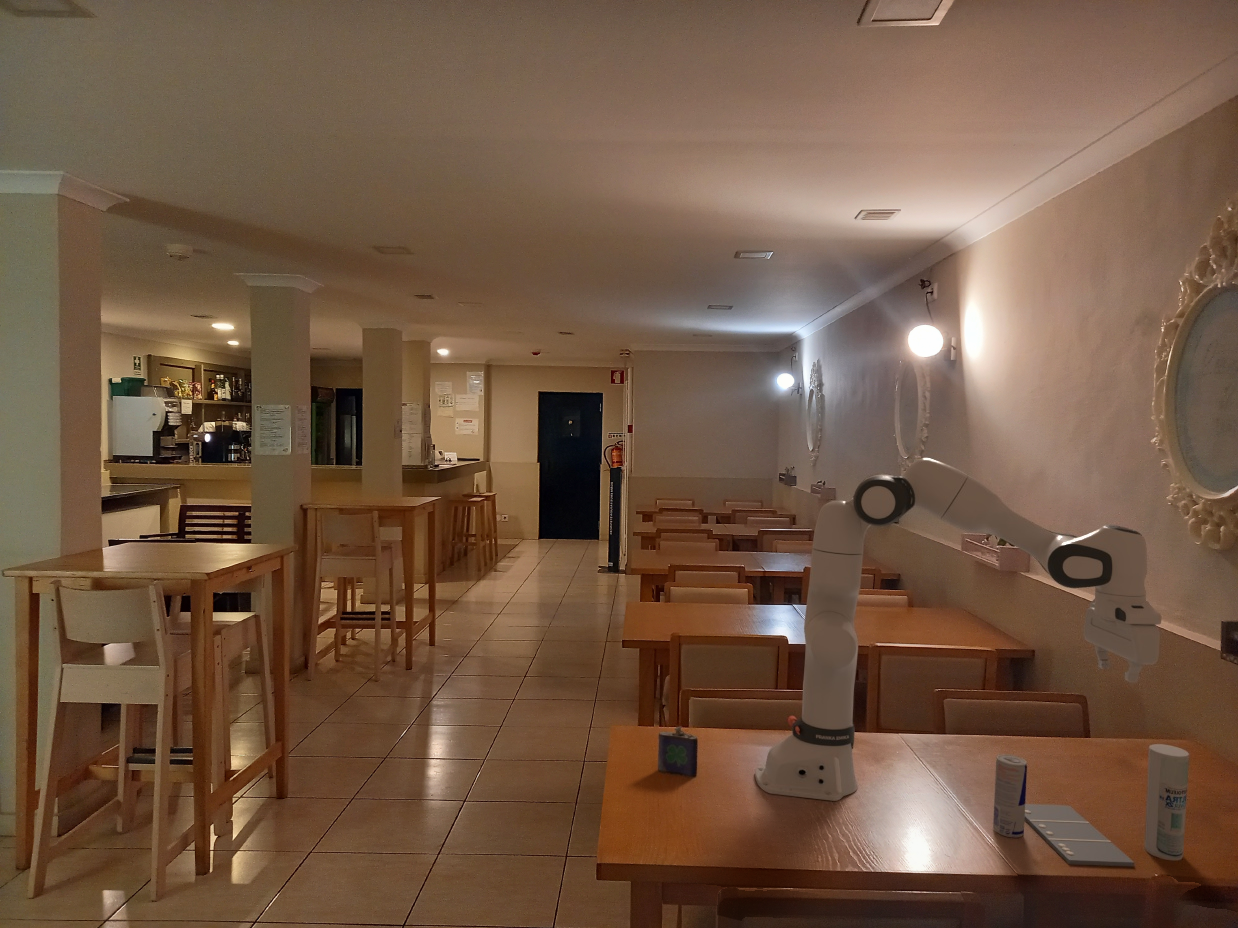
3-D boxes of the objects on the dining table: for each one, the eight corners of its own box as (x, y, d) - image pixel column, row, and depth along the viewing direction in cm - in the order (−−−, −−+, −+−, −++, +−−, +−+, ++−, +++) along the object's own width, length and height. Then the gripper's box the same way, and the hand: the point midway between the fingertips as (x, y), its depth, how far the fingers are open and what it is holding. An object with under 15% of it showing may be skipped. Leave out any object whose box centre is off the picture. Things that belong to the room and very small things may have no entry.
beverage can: (1027, 840, 167) (1030, 765, 167) (996, 837, 168) (1000, 762, 168) (1019, 827, 173) (1023, 754, 172) (990, 824, 174) (993, 752, 173)
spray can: (1166, 843, 168) (1171, 743, 167) (1192, 860, 161) (1198, 756, 160) (1135, 844, 167) (1141, 743, 166) (1160, 861, 160) (1166, 756, 160)
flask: (656, 772, 196) (657, 726, 196) (659, 767, 199) (661, 722, 198) (695, 778, 193) (697, 731, 193) (698, 773, 196) (700, 727, 195)
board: (1068, 863, 158) (1069, 859, 158) (1012, 806, 182) (1012, 802, 182) (1134, 866, 158) (1134, 861, 158) (1068, 808, 182) (1069, 804, 182)
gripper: (1076, 596, 181) (1074, 660, 182) (1134, 617, 161) (1131, 689, 161) (1106, 596, 181) (1103, 661, 182) (1167, 617, 161) (1164, 690, 161)
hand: (1117, 674), depth 171 cm, fingers open, 8 cm apart
